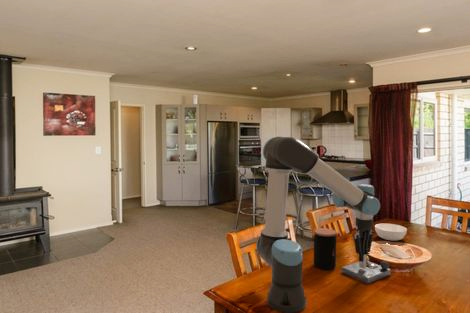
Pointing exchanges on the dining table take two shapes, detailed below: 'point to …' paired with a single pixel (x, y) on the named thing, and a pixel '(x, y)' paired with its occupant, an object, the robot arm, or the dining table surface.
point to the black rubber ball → (384, 264)
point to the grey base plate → (366, 272)
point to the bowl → (390, 231)
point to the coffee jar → (325, 249)
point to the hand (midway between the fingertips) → (362, 267)
